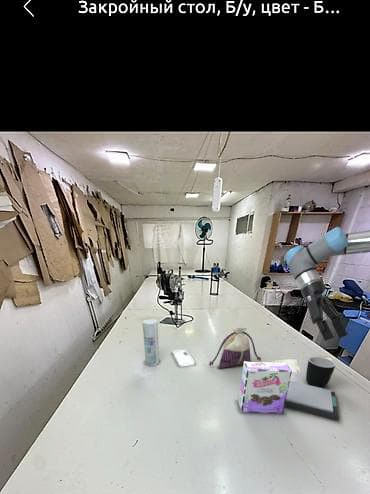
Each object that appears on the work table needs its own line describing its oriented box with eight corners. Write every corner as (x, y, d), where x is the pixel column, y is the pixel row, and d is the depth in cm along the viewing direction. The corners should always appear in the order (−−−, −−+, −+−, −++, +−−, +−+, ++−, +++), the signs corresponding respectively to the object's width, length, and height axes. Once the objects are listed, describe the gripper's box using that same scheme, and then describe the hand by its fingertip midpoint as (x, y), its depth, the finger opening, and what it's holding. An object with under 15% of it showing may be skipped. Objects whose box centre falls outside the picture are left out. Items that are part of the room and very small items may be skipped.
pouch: (214, 374, 100) (217, 332, 92) (206, 365, 107) (208, 326, 99) (263, 365, 108) (269, 325, 100) (252, 357, 115) (257, 320, 107)
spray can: (142, 364, 108) (139, 322, 100) (149, 358, 114) (147, 318, 105) (155, 366, 106) (153, 324, 98) (161, 360, 111) (160, 320, 103)
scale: (333, 396, 87) (335, 389, 86) (336, 421, 74) (339, 414, 73) (287, 385, 93) (288, 379, 92) (282, 406, 81) (284, 399, 80)
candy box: (240, 413, 78) (246, 369, 71) (237, 402, 83) (243, 360, 76) (283, 414, 77) (293, 370, 70) (277, 403, 83) (286, 361, 76)
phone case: (172, 353, 119) (179, 366, 106) (172, 350, 119) (179, 364, 105) (186, 351, 121) (195, 365, 108) (186, 349, 120) (195, 362, 107)
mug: (330, 392, 89) (337, 369, 85) (304, 387, 92) (310, 364, 87) (325, 377, 99) (331, 355, 95) (302, 373, 102) (307, 352, 98)
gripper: (315, 292, 98) (338, 339, 93) (284, 289, 82) (311, 345, 77) (333, 282, 92) (359, 331, 87) (304, 276, 77) (334, 335, 72)
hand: (336, 337), depth 82 cm, fingers open, 13 cm apart
